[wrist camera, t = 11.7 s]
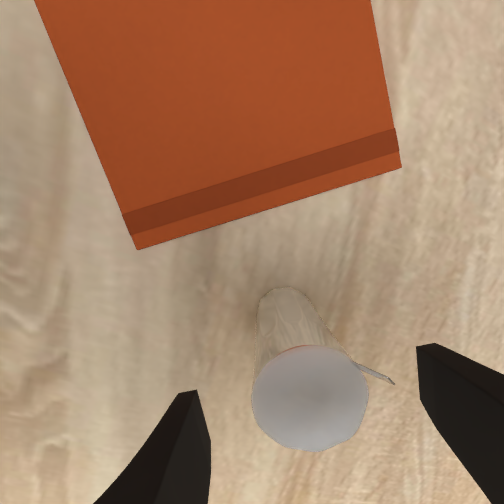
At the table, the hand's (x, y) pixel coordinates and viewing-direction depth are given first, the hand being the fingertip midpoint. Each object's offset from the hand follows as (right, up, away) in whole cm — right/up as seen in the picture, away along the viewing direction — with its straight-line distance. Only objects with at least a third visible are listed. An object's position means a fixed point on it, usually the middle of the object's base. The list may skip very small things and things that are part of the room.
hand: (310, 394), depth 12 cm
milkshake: (0, +1, +10) cm, 11 cm away
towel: (-4, +17, +6) cm, 18 cm away
